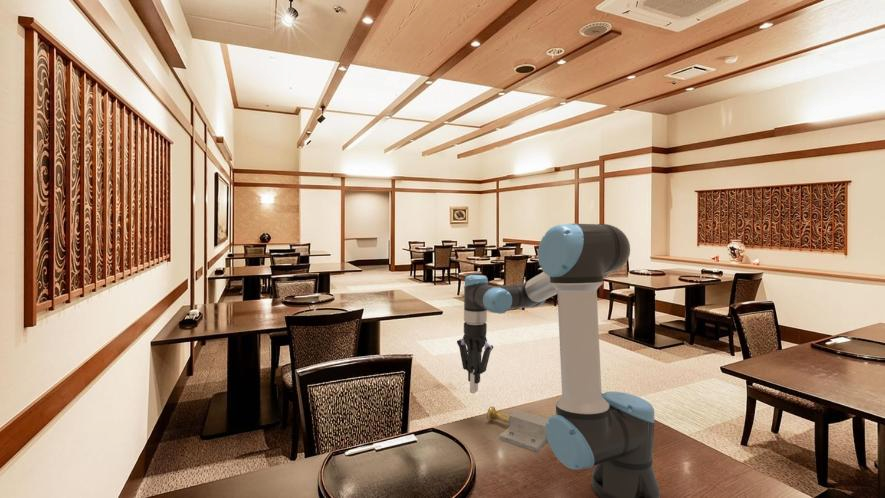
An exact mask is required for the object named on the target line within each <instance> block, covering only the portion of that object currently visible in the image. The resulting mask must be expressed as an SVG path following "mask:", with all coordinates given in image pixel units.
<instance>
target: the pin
mask: <svg viewBox="0 0 885 498" xmlns="http://www.w3.org/2000/svg"><path fill="white" fill-rule="evenodd" d="M509 415H510V414H507V413H503V412H500V411H497V409H496V407H495V406H489V408H488V409H487V413H486V419H487V421H489V422H492V421H493V420H497V421H499V422H503V423H505V424H509Z"/></svg>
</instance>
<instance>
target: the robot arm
mask: <svg viewBox="0 0 885 498" xmlns="http://www.w3.org/2000/svg"><path fill="white" fill-rule="evenodd" d="M630 256H631V245H630V240H629V238H628V237H627V235H626V234H625V232H623V231H622V230H621V229H620V228H618V227H617V226H614V225H611V224H606V223H598V224H597V223H596V224H594V223H564V224H557V225H554V226H552V227H550V228H549V229H548V230H547V231H546V232H545V234H544V235H543V236H542V237H541V239H540V242H539V244H538V251H537V259H538V260H537V261H538V265H539V266H540V267H541V271H542V272H541V273H539V274H537V275H535V276H534V277H532V278H530V279H529V280H527V281H525V282H524V283H521V284H507V285H506V284H505V285H490V284H489V280H488V277H487V275H483V274H469V275H466V276H465V277H464V286H463V291H464V292H463V293H464V294H463V296H464V297H463V306H464V308H463V321H464V323H463V337H462V338H460V339H458V340H456V344H457V345H458V348H459V352H460V358H461V359H460V360H461V365H462V369H463V370H466V372H467V380H468V382H469V393H471V394H475V393H477V392H478V391H479V383H480V382H481V374H483V373H486V371H487V368H488V363H489V359H490V355H491V352H492V351H493V349H494V345H493V344H491V345H490V344H489V342H488V339H487V328H488V326H487V319H488V317H487V316H488V315H487V314H488V311H489V312H491V313H494V314H499V315H500V314H504V313H506V312H508V311H509V310H515V309H524V308H537V307H540V306H543V305H544V304H545V302H546V300H547V299H550V298H551V297H553V296H556V295H557V311H558V312H557V313H558V333H559V334H558V336H559V355H560V356H559V358H560V376H561V377H560V379H561V380H560V381H561V395H560V396H559V397H558V398H557V399H555V414H554V415H551V416H550V417H549V418H548V419H549V420H548V421H547V423H546V435H547V439H548V441H547V442H548V445H549V447H550V449H551V451H552V452H553V453H554V456H555V457H556V459H557V460H558V461H559V462H560V463H561V464H562V465H564V466H565V467H567V468H568V469H571V470H573V471H574V470H575V471H579V470H583V469H591V468H593V467H594V468H593V470H592V473H591V487H592V490H593V491H594V493H595V494H596V495H597V496H598V497H599V498H660V495H661V493H660V491H661V490H660V486H659V482H658V480H657V476H656V473H655V469H654V467H653V459H654V439H655V438H654V437H655V423H656V420H655V408H654V407H653V405H652V404H651V403H650V402H649V401H647V400H645V399H644V398H641V397H640V396H636V395H633V394H630V393H627V392H621V391H606V392H605V391H604V392H603V394H602V375H601V374H602V372H601V354H600V353H601V352H600V350H601V349H600V334H599V330H600V329H599V313H598V312H599V310H598V289H599V288H600V287H601V286H602V285H603V284H604V277H605V276H607V275H609V274H612V273H615V272H617V271H618V270H620V269H622V268H623V267H624V266H625V264H626V263H628V261H629V257H630ZM483 348H484V349H483ZM483 350H484V351H483ZM482 353H483V354H482Z"/></svg>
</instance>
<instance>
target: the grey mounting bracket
mask: <svg viewBox="0 0 885 498" xmlns="http://www.w3.org/2000/svg"><path fill="white" fill-rule="evenodd" d="M508 415H509V423H508V427H507V428H506V429H505V430H504V431H502V432H501V433H500V434H499V435H498V436H499V437H498V439H499V440H501V441H504V442H507V443H509V444H512V445H515V446H518V447H521V448H524V449H527V450H530V451H533V452H536V453H538V452H539V451H540V450H541V449H542V448H543V447H544V446H545V445H546V443H547V442H548V439H547V435H546V423H547V421H548V420H549V418H546V417H543V416H539V415H536V414H532V413H529V412H526V411H522V410H518V409H515V410H514V411H512V412H511V413H510V414H508Z"/></svg>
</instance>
